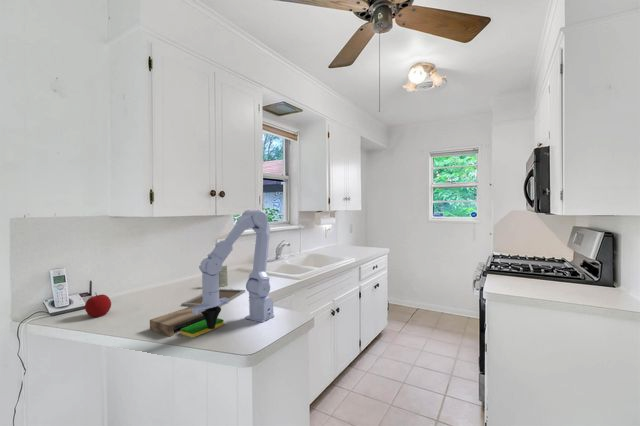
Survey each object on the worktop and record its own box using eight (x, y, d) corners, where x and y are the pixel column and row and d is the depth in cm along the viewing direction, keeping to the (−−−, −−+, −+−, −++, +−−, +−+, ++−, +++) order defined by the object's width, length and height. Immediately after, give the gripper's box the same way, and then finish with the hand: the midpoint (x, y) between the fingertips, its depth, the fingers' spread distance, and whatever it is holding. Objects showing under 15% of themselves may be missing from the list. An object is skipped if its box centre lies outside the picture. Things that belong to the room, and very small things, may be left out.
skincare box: (226, 284, 177) (226, 264, 177) (227, 285, 173) (227, 265, 173) (215, 285, 174) (215, 265, 174) (216, 287, 170) (216, 266, 170)
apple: (112, 315, 125) (112, 292, 125) (85, 321, 119) (85, 296, 119) (110, 310, 132) (109, 288, 132) (84, 315, 126) (84, 291, 126)
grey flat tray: (181, 303, 137) (216, 287, 166) (181, 307, 137) (216, 290, 166) (218, 305, 133) (247, 288, 162) (218, 309, 133) (247, 291, 162)
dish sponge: (180, 335, 105) (179, 328, 105) (211, 322, 117) (211, 316, 117) (192, 339, 101) (192, 332, 101) (224, 325, 114) (224, 319, 113)
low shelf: (215, 318, 120) (215, 308, 120) (169, 336, 103) (169, 325, 103) (196, 313, 126) (196, 304, 126) (149, 330, 109) (149, 319, 109)
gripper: (218, 285, 115) (219, 319, 115) (186, 294, 102) (186, 333, 102) (231, 287, 112) (232, 322, 112) (199, 297, 99) (200, 337, 99)
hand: (211, 328), depth 107 cm, fingers closed
